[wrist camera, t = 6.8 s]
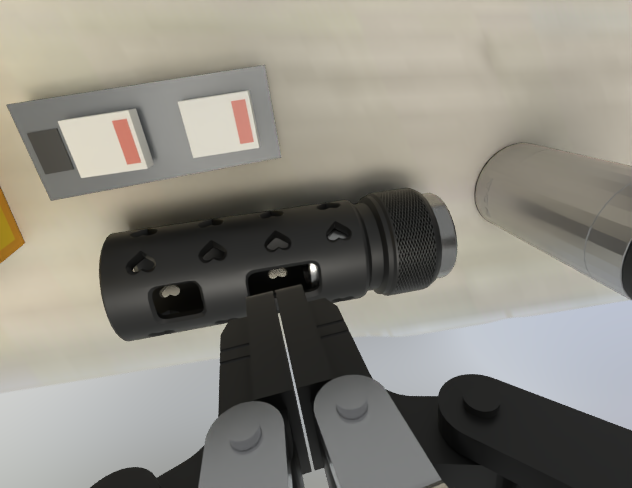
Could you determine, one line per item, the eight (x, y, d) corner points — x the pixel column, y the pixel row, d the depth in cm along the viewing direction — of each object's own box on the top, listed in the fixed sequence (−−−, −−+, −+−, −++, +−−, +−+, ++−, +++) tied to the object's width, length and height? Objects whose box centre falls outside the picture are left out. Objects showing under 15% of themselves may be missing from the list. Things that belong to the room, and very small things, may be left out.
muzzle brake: (122, 211, 34) (83, 260, 25) (410, 172, 39) (467, 201, 30) (149, 299, 38) (124, 370, 29) (407, 255, 43) (457, 304, 34)
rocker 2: (249, 90, 28) (247, 91, 27) (260, 144, 30) (259, 148, 28) (181, 100, 28) (177, 101, 27) (196, 154, 30) (193, 158, 28)
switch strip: (260, 66, 32) (265, 64, 28) (275, 149, 35) (282, 158, 31) (32, 101, 30) (3, 104, 26) (70, 187, 33) (48, 202, 29)
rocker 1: (135, 108, 27) (127, 110, 25) (154, 164, 28) (147, 168, 27) (67, 118, 27) (56, 121, 26) (89, 173, 29) (80, 178, 27)
